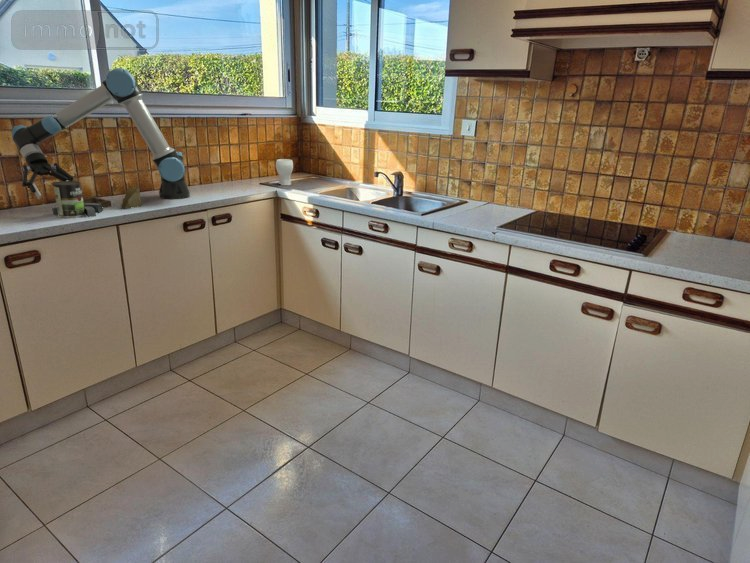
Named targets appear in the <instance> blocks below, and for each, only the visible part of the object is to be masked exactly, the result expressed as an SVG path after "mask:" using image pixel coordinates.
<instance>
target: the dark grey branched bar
mask: <svg viewBox="0 0 750 563" xmlns="http://www.w3.org/2000/svg"><path fill="white" fill-rule="evenodd" d="M103 208H104V207H103ZM103 208H102V204H95V203H84V209H85V216H87V217H88V218H91V217H96V216H97V214H99V213H100V214H101V213H103V212H102V211H104V209H103ZM51 210H52V214H53V215H54V216H58V210H57V205H56V206H51ZM96 213H97V214H96ZM90 216H91V217H90Z"/></svg>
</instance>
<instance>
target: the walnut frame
mask: <svg viewBox="0 0 750 563" xmlns="http://www.w3.org/2000/svg"><path fill="white" fill-rule="evenodd" d="M83 202H84V203H95V204H102V207H103V208H109V207H108V206H110V207H112V201H111V200H108V199H105V198H100V197H97V196H93V197H84V198H83Z"/></svg>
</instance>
